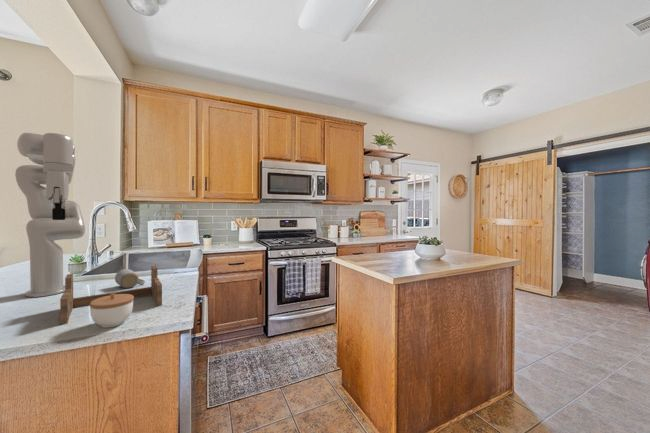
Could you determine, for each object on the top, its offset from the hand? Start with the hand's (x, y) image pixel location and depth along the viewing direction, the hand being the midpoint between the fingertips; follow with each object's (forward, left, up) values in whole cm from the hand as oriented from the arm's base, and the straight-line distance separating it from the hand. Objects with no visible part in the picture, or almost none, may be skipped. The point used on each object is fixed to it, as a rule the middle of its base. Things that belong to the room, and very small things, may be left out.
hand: (59, 219), depth 95 cm
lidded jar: (+29, +15, -32) cm, 46 cm away
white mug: (-16, +22, -32) cm, 42 cm away
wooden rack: (+12, +16, -32) cm, 37 cm away
